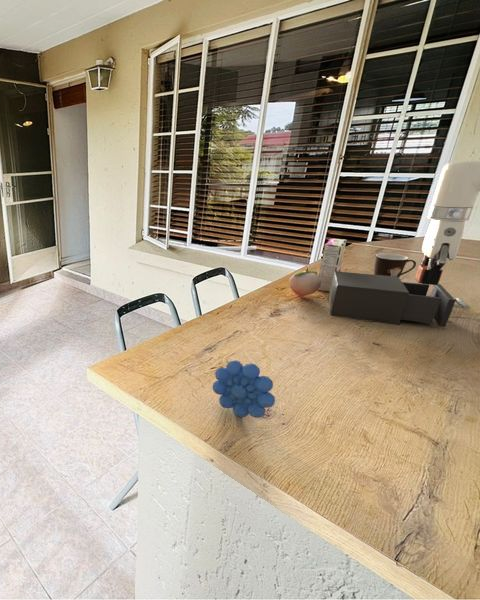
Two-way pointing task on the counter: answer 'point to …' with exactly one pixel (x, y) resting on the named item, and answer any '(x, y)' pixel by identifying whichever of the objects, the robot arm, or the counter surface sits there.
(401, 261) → the coffee mug
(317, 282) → the decorative fruit
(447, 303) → the drawer
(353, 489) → the counter surface
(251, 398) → the blue bumpy cluster
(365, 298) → the cabinet
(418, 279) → the block
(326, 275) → the candy bar box
